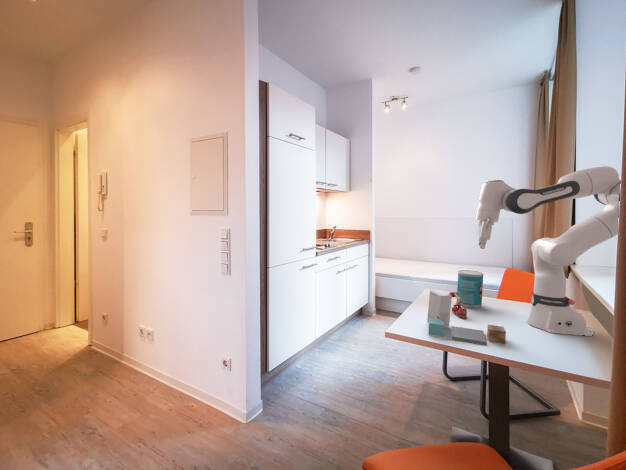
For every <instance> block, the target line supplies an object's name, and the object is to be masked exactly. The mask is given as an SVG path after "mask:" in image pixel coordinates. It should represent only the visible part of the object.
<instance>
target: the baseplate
mask: <svg viewBox="0 0 626 470" xmlns="http://www.w3.org/2000/svg"><path fill="white" fill-rule="evenodd" d="M450 333H451V340H452V341H453V340H454V341H458V342H459V341H460V342H466V343H471V344H477V343H478V345H484V346H487V339H486V336H485V333H484V330H481V329H474V328H467V327H461V326H455V325H451V332H450Z"/></svg>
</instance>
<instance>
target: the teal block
mask: <svg viewBox="0 0 626 470" xmlns="http://www.w3.org/2000/svg"><path fill="white" fill-rule="evenodd" d="M443 324H444V321H443V320H436V319H429V323H428V332H427V333H428V334H429V336H436V337H440V338H441V337H442V338H443V337H444V328H443Z"/></svg>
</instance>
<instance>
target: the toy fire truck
mask: <svg viewBox="0 0 626 470" xmlns="http://www.w3.org/2000/svg"><path fill="white" fill-rule="evenodd" d="M448 294H450V295H452V298H456V302H455V304H453V306H451V311H452V314H454V315H456V316H457V317H458V318H460V319H461V318H462V319H466V318H468V311H467V308H465V307H461V305H460V303H461V302H462V301H461V298H459V297H458V293H457V291H456V292H454V291H453V292H452V291H451V292H450V291H449V293H448Z"/></svg>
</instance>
